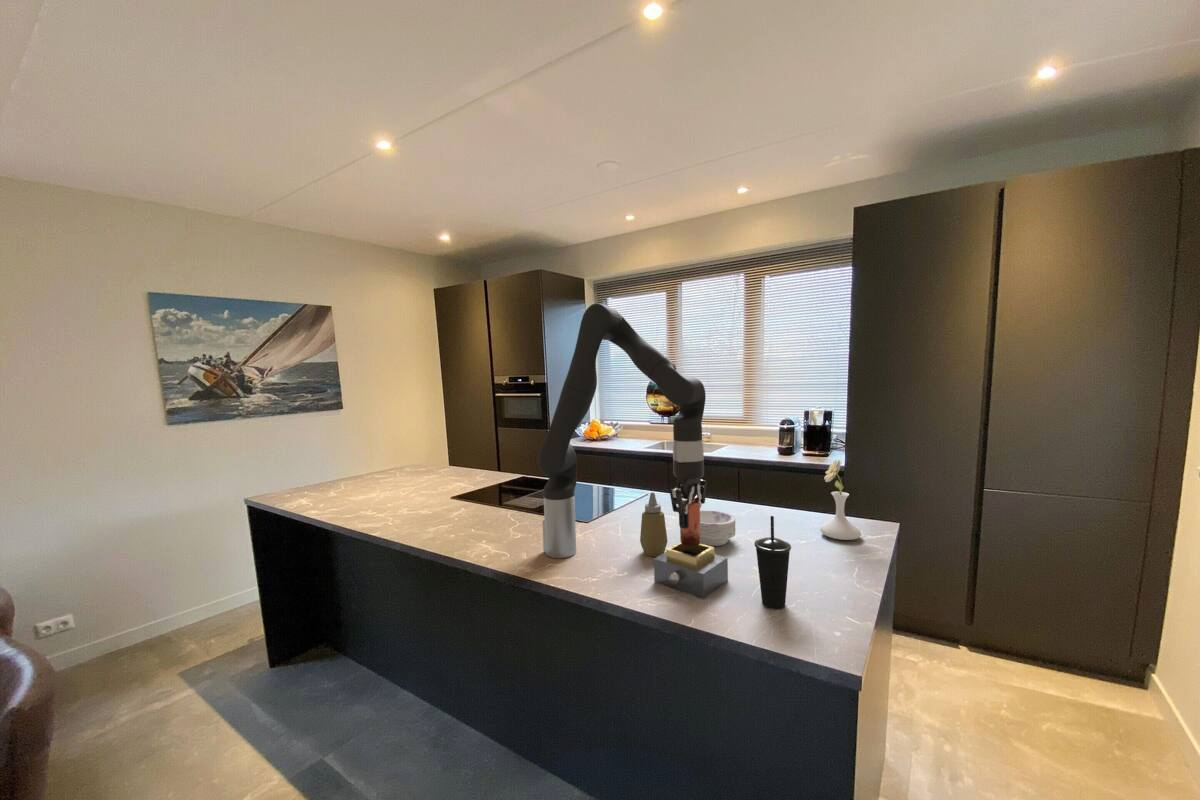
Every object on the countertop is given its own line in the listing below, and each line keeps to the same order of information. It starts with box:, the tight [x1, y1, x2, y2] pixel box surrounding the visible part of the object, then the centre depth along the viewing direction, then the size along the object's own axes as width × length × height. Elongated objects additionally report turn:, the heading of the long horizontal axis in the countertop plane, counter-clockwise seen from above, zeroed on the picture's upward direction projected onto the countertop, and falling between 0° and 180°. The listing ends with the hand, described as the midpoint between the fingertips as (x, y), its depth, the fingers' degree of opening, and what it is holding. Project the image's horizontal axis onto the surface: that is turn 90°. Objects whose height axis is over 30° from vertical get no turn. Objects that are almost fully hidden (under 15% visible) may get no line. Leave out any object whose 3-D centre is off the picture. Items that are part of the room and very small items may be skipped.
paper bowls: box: [700, 509, 736, 547], centre depth 139 cm, size 15×15×8 cm
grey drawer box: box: [653, 541, 729, 600], centre depth 111 cm, size 14×14×8 cm
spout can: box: [679, 499, 701, 546], centre depth 111 cm, size 5×5×13 cm
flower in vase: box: [819, 459, 862, 541], centre depth 138 cm, size 13×11×25 cm
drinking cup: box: [753, 515, 792, 610], centre depth 99 cm, size 8×8×20 cm
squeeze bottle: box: [639, 492, 668, 557], centre depth 130 cm, size 8×8×18 cm
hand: (689, 524), depth 111 cm, fingers closed on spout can, 5 cm apart
